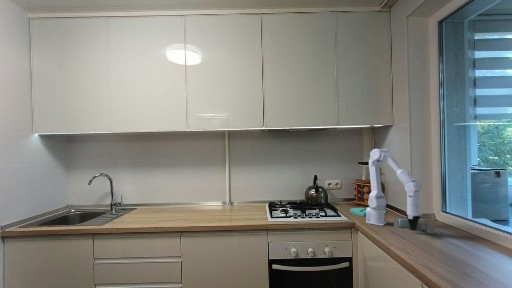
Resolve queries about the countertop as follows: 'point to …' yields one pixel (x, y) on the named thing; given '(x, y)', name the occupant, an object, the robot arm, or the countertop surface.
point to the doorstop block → (418, 226)
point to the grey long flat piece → (429, 226)
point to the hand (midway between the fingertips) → (413, 230)
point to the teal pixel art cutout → (360, 211)
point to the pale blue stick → (406, 222)
